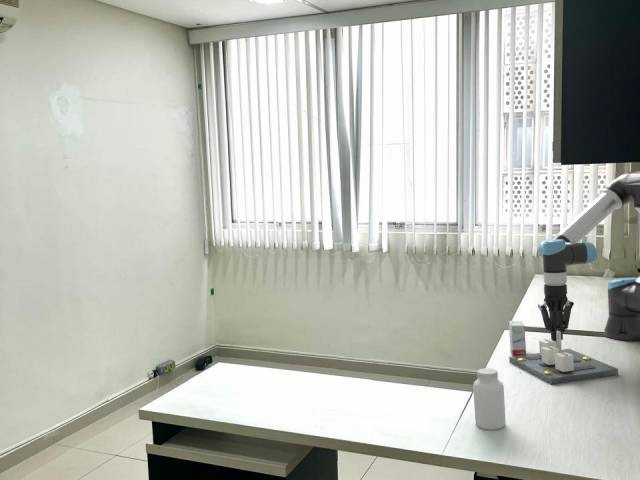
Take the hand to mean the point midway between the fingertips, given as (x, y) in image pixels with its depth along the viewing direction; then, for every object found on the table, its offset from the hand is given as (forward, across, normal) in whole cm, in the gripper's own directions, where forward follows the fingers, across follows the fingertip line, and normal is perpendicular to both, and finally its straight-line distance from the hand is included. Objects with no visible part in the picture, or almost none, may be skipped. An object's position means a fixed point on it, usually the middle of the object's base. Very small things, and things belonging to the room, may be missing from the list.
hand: (557, 349), depth 213 cm
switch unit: (+4, +4, +8) cm, 10 cm away
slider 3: (+2, +8, +16) cm, 18 cm away
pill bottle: (+5, +48, +42) cm, 64 cm away
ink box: (+4, +8, -13) cm, 16 cm away
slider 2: (+2, +8, +8) cm, 11 cm away
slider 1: (+2, +4, 0) cm, 4 cm away
